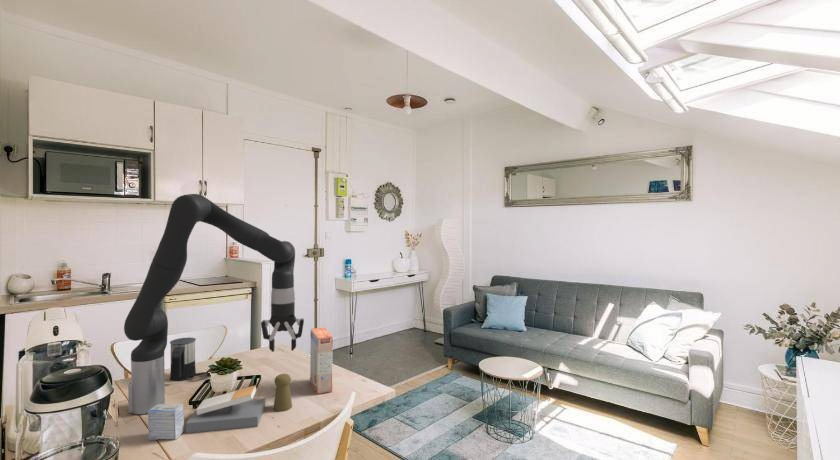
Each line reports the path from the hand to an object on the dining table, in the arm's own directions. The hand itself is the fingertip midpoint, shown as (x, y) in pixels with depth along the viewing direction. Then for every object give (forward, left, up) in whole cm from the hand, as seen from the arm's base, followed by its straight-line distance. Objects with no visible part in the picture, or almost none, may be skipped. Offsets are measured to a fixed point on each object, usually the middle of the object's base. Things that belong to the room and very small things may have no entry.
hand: (282, 350), depth 133 cm
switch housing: (-16, -5, -20) cm, 26 cm away
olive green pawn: (0, 0, -20) cm, 20 cm away
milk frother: (-39, +34, -20) cm, 55 cm away
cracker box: (+12, +15, -20) cm, 28 cm away
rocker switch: (-16, -5, -14) cm, 22 cm away
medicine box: (-31, -12, -20) cm, 39 cm away
